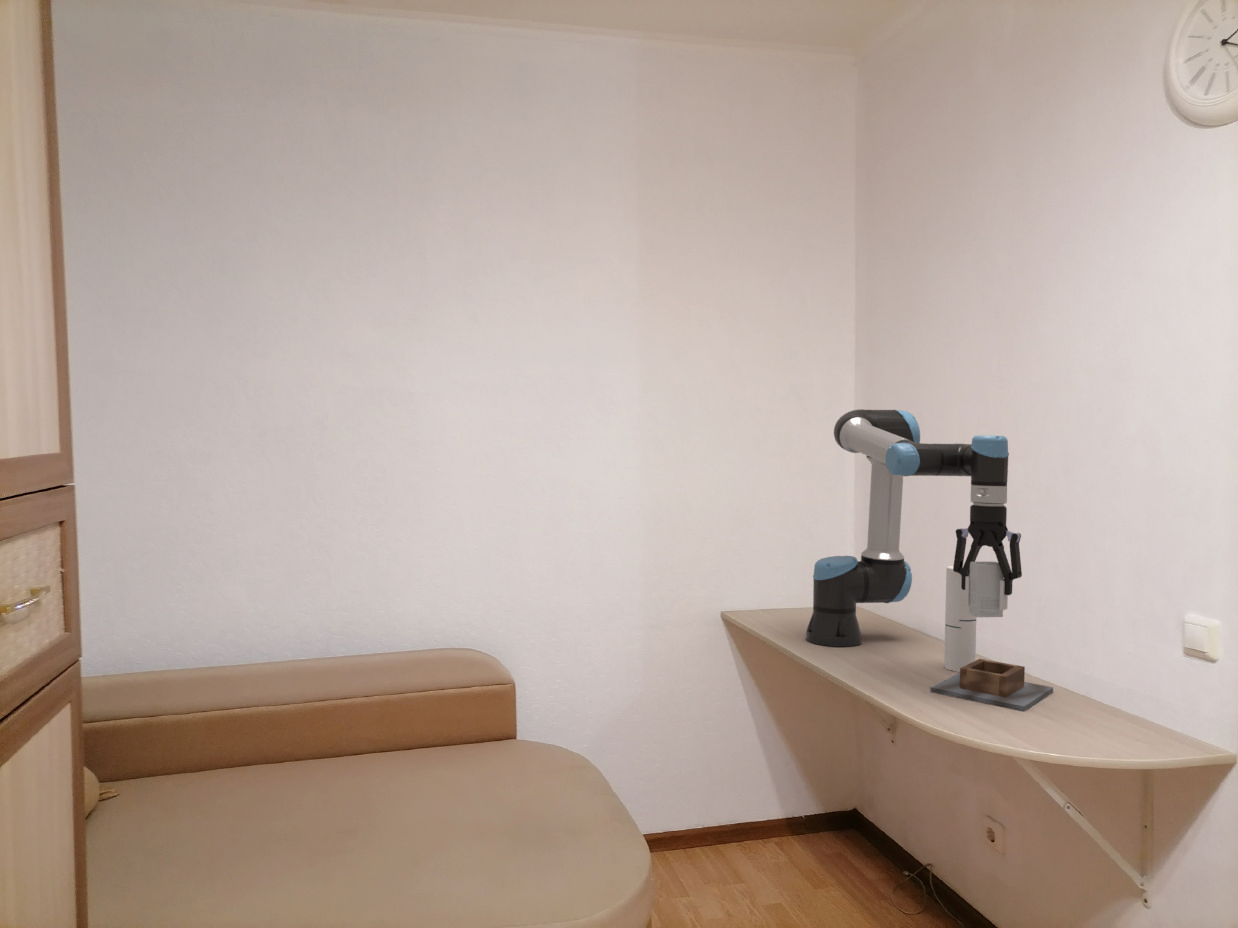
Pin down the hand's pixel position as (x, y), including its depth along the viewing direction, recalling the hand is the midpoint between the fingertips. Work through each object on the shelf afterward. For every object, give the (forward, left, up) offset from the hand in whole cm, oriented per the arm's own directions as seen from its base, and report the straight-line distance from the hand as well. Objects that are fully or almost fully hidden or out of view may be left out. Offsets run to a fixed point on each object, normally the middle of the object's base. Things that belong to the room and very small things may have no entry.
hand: (985, 606), depth 197 cm
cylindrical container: (-12, +17, -19) cm, 28 cm away
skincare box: (0, 0, -2) cm, 2 cm away
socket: (+1, +2, -19) cm, 19 cm away
